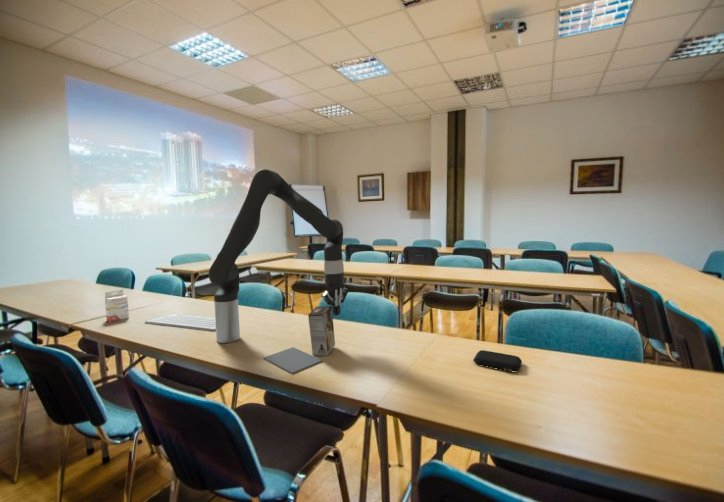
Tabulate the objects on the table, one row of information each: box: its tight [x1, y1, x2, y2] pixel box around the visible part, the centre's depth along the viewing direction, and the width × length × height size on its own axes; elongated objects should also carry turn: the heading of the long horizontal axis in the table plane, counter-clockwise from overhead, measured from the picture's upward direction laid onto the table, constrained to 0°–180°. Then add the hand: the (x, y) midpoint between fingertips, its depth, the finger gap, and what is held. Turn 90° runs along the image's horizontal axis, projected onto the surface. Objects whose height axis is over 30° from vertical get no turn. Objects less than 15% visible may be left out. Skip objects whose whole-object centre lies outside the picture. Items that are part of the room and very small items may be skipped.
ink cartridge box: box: [104, 289, 130, 323], centre depth 174 cm, size 9×5×15 cm, turn 144°
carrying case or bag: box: [473, 349, 523, 372], centre depth 116 cm, size 11×3×15 cm
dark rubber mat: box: [262, 346, 323, 375], centre depth 122 cm, size 18×13×1 cm
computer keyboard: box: [144, 313, 216, 332], centre depth 169 cm, size 43×19×2 cm, turn 70°
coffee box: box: [307, 305, 336, 356], centre depth 129 cm, size 9×6×16 cm
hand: (336, 314), depth 133 cm, fingers closed
